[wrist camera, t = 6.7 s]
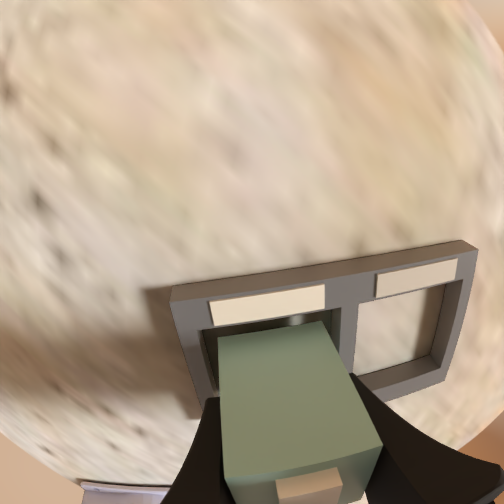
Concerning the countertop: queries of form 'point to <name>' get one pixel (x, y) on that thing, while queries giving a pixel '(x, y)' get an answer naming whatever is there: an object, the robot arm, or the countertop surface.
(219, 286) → the dock
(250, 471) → the plug
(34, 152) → the countertop surface
